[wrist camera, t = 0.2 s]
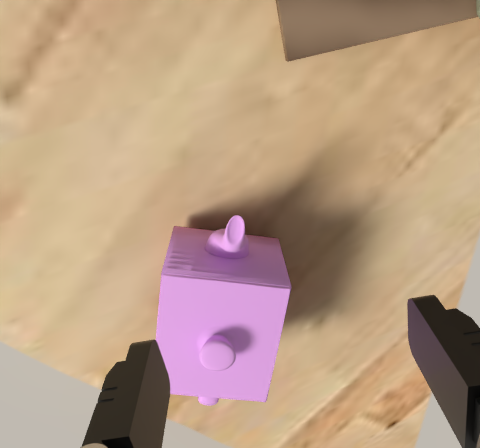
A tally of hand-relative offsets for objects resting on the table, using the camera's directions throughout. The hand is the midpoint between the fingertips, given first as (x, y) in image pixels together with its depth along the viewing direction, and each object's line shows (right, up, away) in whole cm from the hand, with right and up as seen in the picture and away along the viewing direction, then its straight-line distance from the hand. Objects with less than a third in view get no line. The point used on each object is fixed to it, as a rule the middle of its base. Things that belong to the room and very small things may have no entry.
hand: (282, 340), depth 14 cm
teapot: (-3, 0, +31) cm, 31 cm away
